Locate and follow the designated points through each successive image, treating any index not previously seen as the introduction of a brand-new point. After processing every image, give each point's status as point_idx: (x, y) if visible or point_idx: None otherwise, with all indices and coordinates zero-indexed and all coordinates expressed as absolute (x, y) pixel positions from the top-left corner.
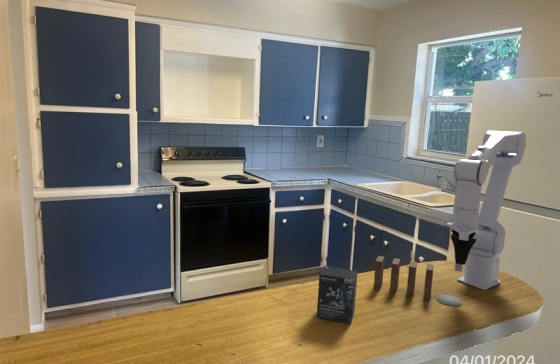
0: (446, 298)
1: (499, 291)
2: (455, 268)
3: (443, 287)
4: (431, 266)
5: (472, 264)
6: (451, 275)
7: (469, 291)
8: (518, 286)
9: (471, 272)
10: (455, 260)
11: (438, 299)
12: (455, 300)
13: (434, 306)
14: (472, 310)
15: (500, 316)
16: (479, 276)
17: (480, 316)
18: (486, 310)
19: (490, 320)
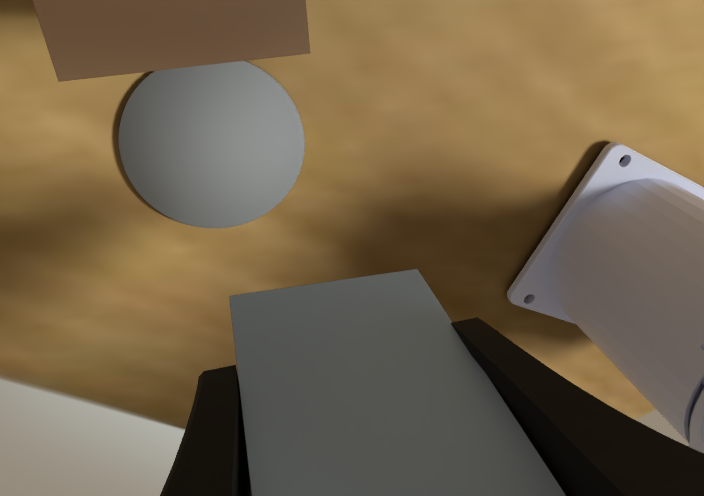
0: (230, 128)
1: (524, 350)
2: (233, 317)
3: (447, 72)
4: (216, 34)
5: (657, 298)
6: (694, 90)
7: (454, 230)
8: (620, 398)
9: (614, 262)
10: (200, 392)
11: (165, 77)
12: (234, 187)
13: (16, 66)
14: (157, 291)
15: (184, 405)
16: (582, 301)
17: (100, 337)
18: (216, 346)
19: (87, 382)
